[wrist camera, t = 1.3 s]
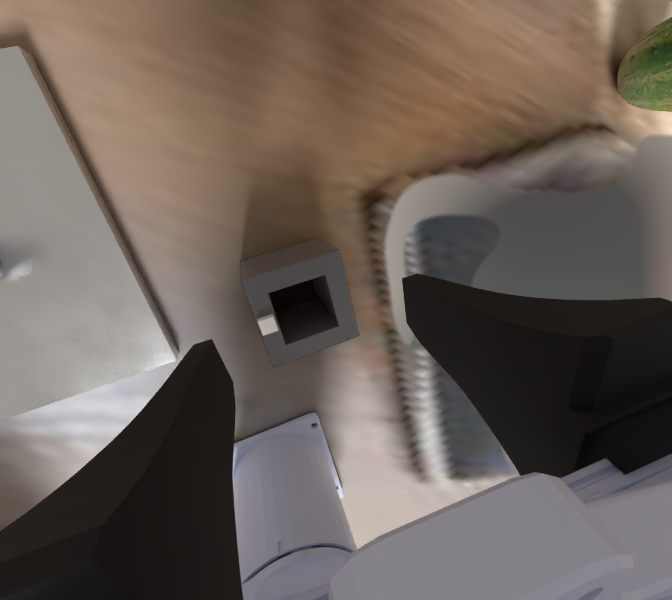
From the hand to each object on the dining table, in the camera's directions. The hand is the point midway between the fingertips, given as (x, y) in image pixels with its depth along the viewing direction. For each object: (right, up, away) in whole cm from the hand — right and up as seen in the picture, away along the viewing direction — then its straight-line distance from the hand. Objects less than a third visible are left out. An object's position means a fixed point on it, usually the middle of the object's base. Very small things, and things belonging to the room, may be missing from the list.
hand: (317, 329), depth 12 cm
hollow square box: (-2, +2, +9) cm, 10 cm away
